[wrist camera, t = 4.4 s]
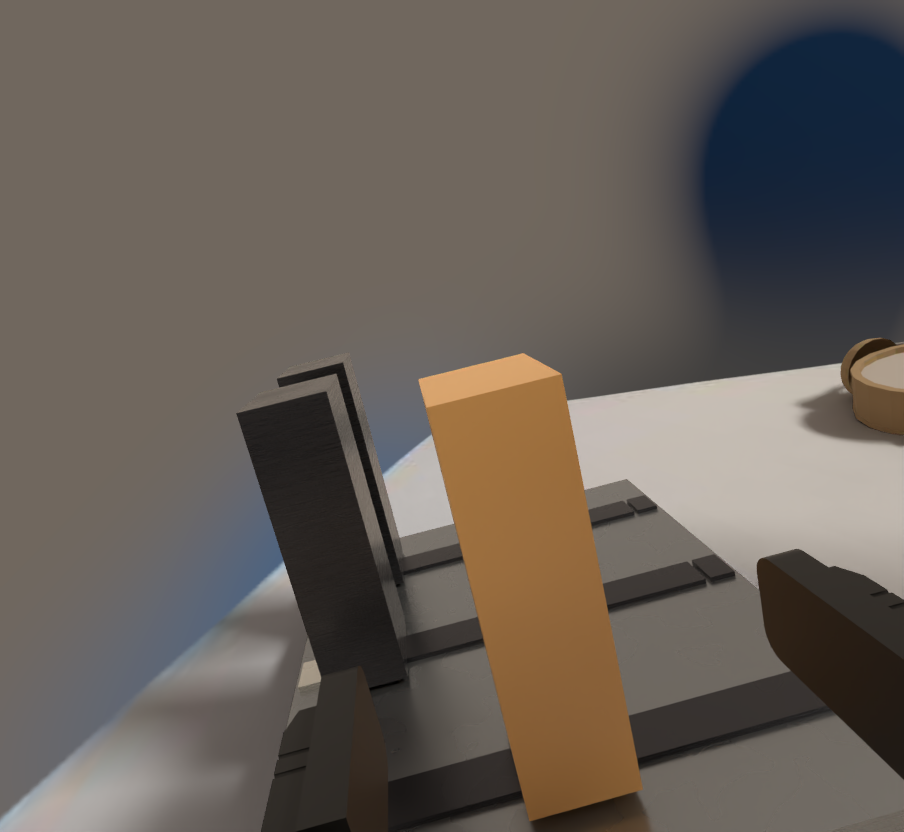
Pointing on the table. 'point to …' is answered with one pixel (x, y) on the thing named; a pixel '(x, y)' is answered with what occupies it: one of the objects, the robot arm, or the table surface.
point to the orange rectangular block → (534, 579)
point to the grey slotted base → (468, 670)
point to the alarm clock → (876, 383)
